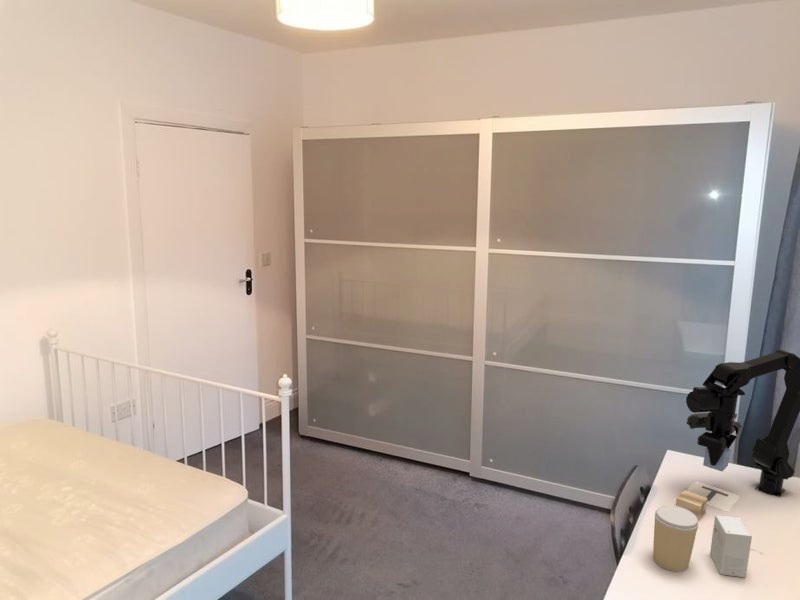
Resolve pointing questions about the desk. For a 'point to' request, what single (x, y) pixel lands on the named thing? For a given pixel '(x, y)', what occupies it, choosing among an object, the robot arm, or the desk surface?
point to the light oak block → (692, 503)
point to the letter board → (714, 495)
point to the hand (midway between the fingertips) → (716, 462)
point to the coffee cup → (674, 537)
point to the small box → (730, 546)
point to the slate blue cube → (721, 463)
